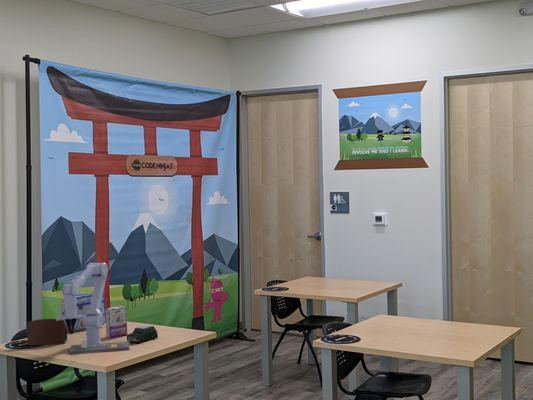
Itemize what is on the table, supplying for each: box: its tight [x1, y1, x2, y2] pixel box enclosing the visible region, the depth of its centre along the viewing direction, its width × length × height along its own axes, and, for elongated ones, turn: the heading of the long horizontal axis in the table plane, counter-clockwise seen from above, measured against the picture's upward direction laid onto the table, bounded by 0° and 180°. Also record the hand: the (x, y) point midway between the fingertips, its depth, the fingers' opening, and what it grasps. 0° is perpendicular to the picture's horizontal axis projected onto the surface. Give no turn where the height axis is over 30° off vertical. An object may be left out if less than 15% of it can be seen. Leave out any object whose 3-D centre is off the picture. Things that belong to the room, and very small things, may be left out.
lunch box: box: [60, 292, 107, 333], centre depth 427 cm, size 28×10×22 cm, turn 133°
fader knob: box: [80, 337, 87, 348], centre depth 368 cm, size 4×2×4 cm, turn 11°
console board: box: [68, 340, 130, 355], centre depth 371 cm, size 14×30×2 cm, turn 101°
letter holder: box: [26, 318, 68, 346], centre depth 391 cm, size 10×20×14 cm, turn 99°
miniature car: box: [126, 324, 159, 344], centre depth 390 cm, size 9×18×8 cm, turn 148°
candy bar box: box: [105, 305, 128, 339], centre depth 403 cm, size 11×5×16 cm, turn 131°
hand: (71, 333), depth 367 cm, fingers closed
